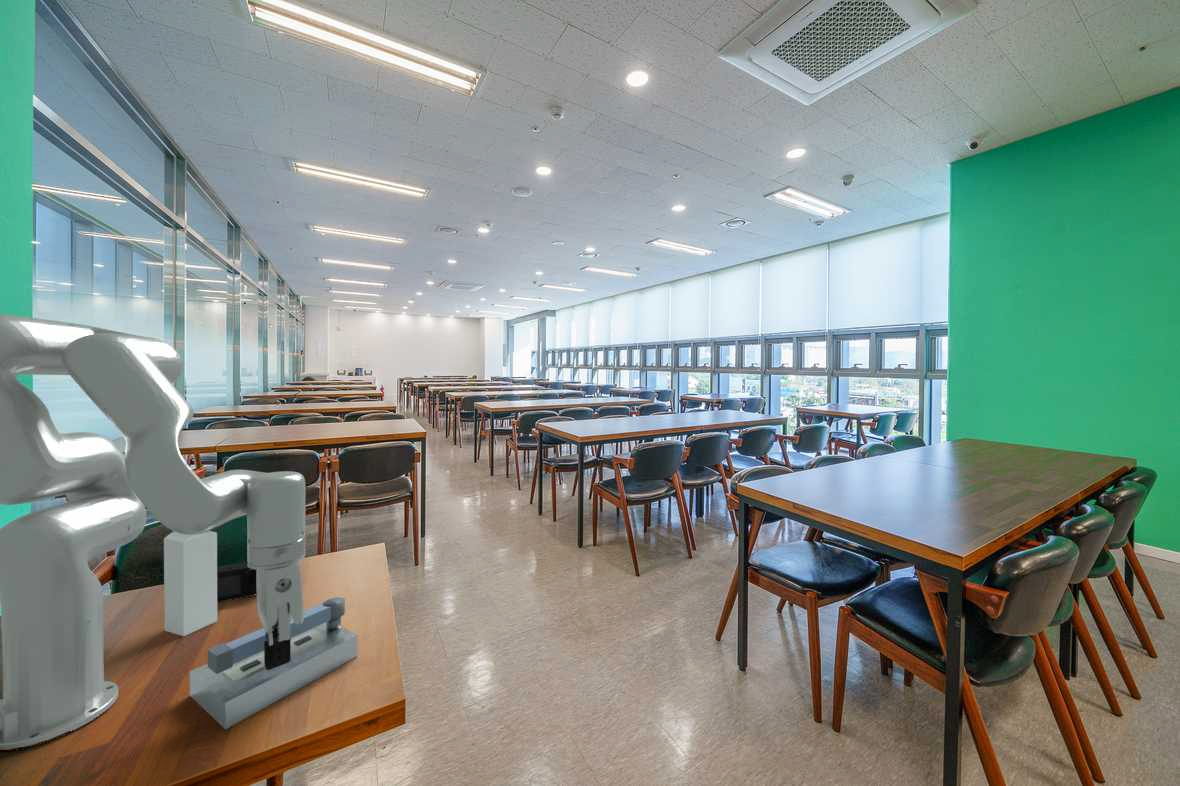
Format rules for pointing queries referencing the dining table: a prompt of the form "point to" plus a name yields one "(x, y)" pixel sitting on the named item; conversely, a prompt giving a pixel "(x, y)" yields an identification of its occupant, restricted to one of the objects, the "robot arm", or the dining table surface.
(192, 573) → the milk
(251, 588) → the digital camera
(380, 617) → the dining table surface
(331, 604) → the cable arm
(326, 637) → the plate
